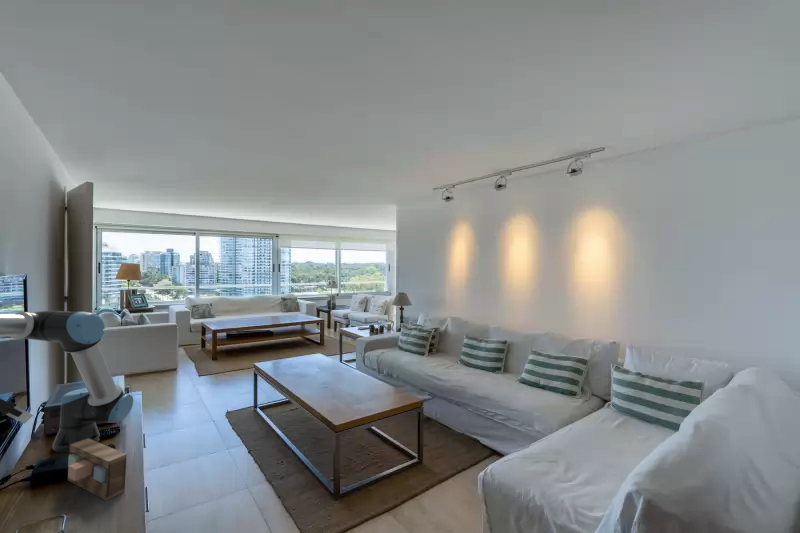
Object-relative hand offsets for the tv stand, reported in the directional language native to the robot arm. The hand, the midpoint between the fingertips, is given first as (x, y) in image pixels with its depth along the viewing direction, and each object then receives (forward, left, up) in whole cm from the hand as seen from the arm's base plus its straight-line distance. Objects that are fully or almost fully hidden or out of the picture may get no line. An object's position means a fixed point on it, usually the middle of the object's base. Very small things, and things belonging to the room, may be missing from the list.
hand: (27, 418), depth 112 cm
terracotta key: (-2, +14, -24) cm, 28 cm away
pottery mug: (-19, +23, -30) cm, 42 cm away
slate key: (+5, +19, -24) cm, 31 cm away
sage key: (-11, +15, -24) cm, 30 cm away
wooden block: (-3, +18, -30) cm, 35 cm away
